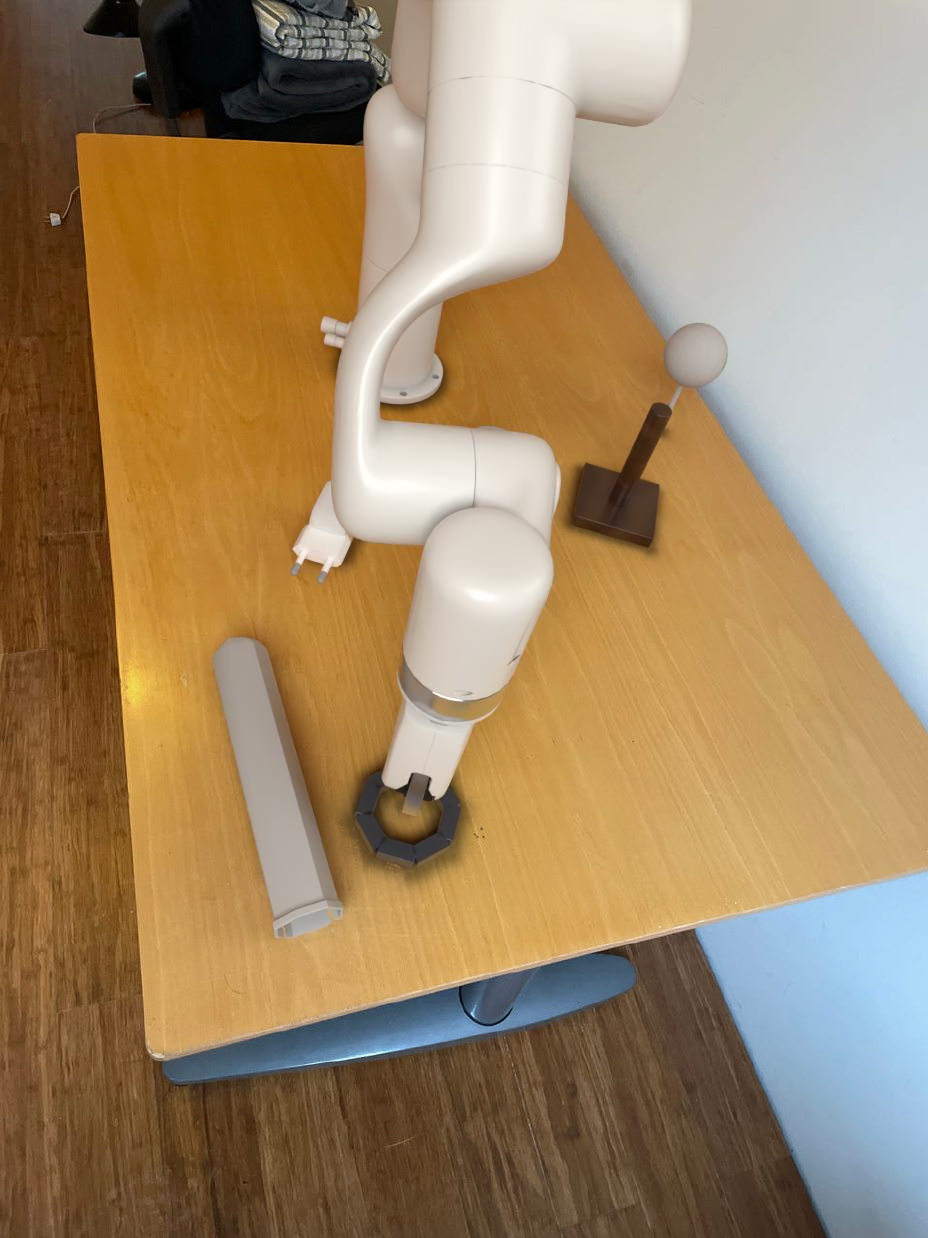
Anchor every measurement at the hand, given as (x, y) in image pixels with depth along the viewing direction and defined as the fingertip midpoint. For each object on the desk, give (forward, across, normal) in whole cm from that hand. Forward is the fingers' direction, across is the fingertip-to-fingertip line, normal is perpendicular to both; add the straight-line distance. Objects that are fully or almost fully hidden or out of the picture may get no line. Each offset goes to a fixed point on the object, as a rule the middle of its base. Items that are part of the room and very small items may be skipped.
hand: (417, 779), depth 69 cm
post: (+1, -39, +13) cm, 42 cm away
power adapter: (+1, -20, -15) cm, 25 cm away
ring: (0, +3, 0) cm, 3 cm away
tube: (+1, +4, -12) cm, 12 cm away
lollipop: (+1, -55, +17) cm, 58 cm away
